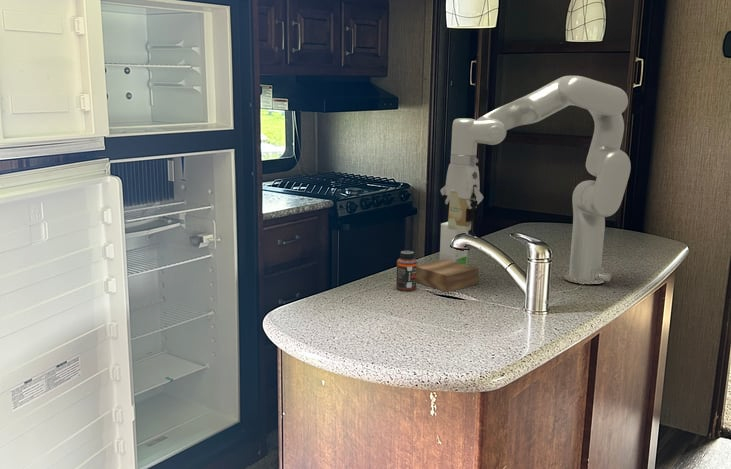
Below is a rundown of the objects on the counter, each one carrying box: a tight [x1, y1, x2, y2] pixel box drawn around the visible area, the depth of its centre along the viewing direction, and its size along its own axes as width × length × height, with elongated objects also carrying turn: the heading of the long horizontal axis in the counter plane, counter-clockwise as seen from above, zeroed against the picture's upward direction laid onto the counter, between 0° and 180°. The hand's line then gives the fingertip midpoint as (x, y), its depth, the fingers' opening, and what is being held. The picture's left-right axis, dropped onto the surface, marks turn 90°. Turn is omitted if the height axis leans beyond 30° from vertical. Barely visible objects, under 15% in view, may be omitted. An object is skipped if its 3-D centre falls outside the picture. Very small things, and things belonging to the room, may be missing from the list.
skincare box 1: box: [447, 190, 472, 232], centre depth 216 cm, size 6×4×12 cm
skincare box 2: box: [439, 221, 469, 265], centre depth 237 cm, size 8×7×16 cm
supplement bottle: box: [395, 250, 418, 292], centre depth 214 cm, size 6×6×11 cm
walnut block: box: [416, 259, 479, 293], centre depth 221 cm, size 14×14×5 cm
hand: (459, 218), depth 217 cm, fingers closed on skincare box 1, 7 cm apart
